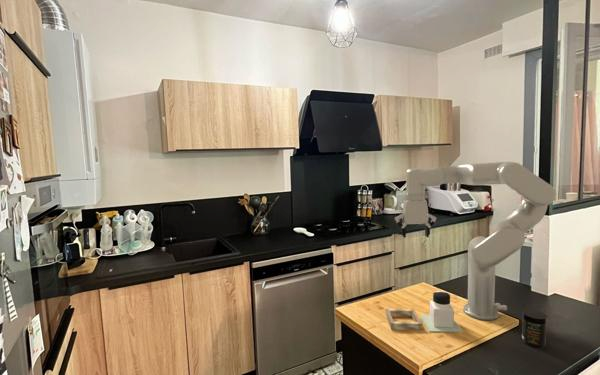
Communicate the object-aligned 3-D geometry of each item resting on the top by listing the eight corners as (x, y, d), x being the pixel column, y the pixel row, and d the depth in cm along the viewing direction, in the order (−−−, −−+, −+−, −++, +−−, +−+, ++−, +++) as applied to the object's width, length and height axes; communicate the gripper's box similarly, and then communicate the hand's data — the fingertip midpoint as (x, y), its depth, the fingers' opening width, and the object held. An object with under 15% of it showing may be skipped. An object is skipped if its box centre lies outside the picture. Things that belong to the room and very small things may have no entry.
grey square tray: (413, 315, 133) (413, 309, 132) (421, 330, 121) (421, 323, 121) (385, 314, 134) (385, 309, 133) (391, 329, 122) (390, 323, 122)
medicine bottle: (453, 328, 121) (454, 297, 120) (433, 327, 122) (434, 296, 121) (448, 318, 128) (448, 289, 127) (429, 317, 129) (429, 288, 128)
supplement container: (549, 350, 107) (550, 320, 106) (526, 347, 109) (527, 317, 108) (540, 338, 113) (541, 310, 112) (518, 336, 115) (519, 308, 114)
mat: (450, 316, 131) (450, 315, 131) (462, 332, 119) (462, 331, 119) (420, 315, 132) (420, 315, 132) (429, 331, 120) (429, 330, 120)
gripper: (433, 195, 141) (433, 234, 143) (393, 196, 142) (393, 234, 144) (439, 198, 133) (439, 238, 135) (396, 199, 135) (396, 239, 137)
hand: (415, 236), depth 140 cm, fingers open, 9 cm apart
